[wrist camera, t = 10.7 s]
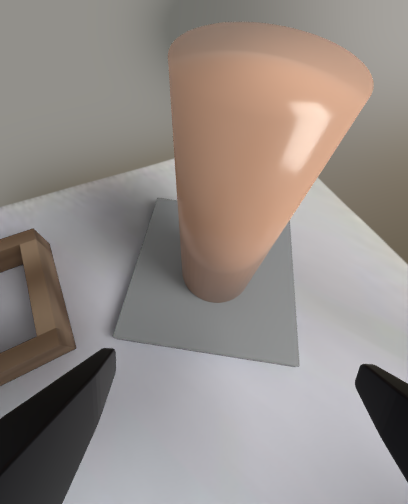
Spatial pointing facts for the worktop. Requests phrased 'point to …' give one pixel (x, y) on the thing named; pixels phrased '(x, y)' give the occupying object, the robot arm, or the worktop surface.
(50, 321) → the collar
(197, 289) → the tan piece
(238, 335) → the pad
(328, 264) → the worktop surface
